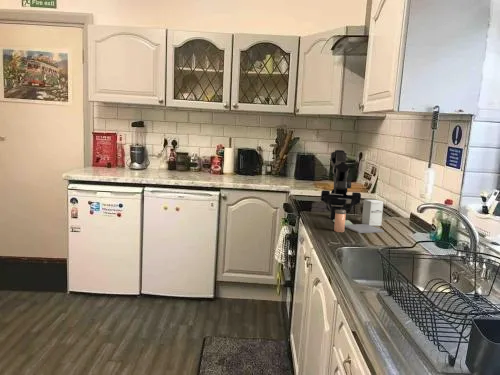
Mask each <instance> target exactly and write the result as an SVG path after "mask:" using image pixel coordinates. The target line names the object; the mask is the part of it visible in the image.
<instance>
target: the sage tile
mask: <svg viewBox="0 0 500 375" xmlns="http://www.w3.org/2000/svg"><path fill="white" fill-rule="evenodd" d="M332 222H333V223H334V224H335V219H332ZM345 225H354V223H352V222H351V220H348V219H345Z"/></svg>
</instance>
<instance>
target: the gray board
mask: <svg viewBox="0 0 500 375" xmlns="http://www.w3.org/2000/svg"><path fill="white" fill-rule="evenodd" d="M345 229H348V230H350V231H352V232H355V233H357V234H367V233H368V234H369V233H370V234H371V233H384V232H385V230H384V229H381V228H379V227H377V226H371V225H368V224H363V223H361V224H359V223H358V224H357V223H356V224H354V223H353V224H352V225H345Z"/></svg>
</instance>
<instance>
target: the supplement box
mask: <svg viewBox="0 0 500 375" xmlns="http://www.w3.org/2000/svg"><path fill="white" fill-rule="evenodd" d="M383 209H384V201H382V200H378V199H363V206H362V216H361V217H362V218H361V224H368V225H371V226H373V227H378V226H379V227H381V226H382V222H383V221H382V220H383V211H384V210H383Z"/></svg>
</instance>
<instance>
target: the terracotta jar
mask: <svg viewBox="0 0 500 375" xmlns="http://www.w3.org/2000/svg"><path fill="white" fill-rule="evenodd" d="M346 215H347V210H345V209H343V208H342V209H336V211H335V219H334V220H335V223H334V227H333V231H334V232H336V233H345V229H346V228H345V220H346V217H347V216H346Z"/></svg>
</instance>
